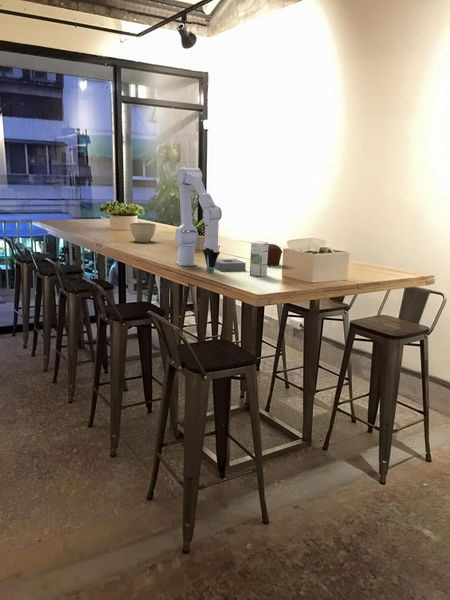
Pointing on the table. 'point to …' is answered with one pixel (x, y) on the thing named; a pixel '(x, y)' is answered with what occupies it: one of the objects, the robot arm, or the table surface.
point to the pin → (209, 269)
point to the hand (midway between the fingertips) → (210, 266)
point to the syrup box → (258, 258)
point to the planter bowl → (142, 231)
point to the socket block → (230, 265)
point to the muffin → (273, 255)
